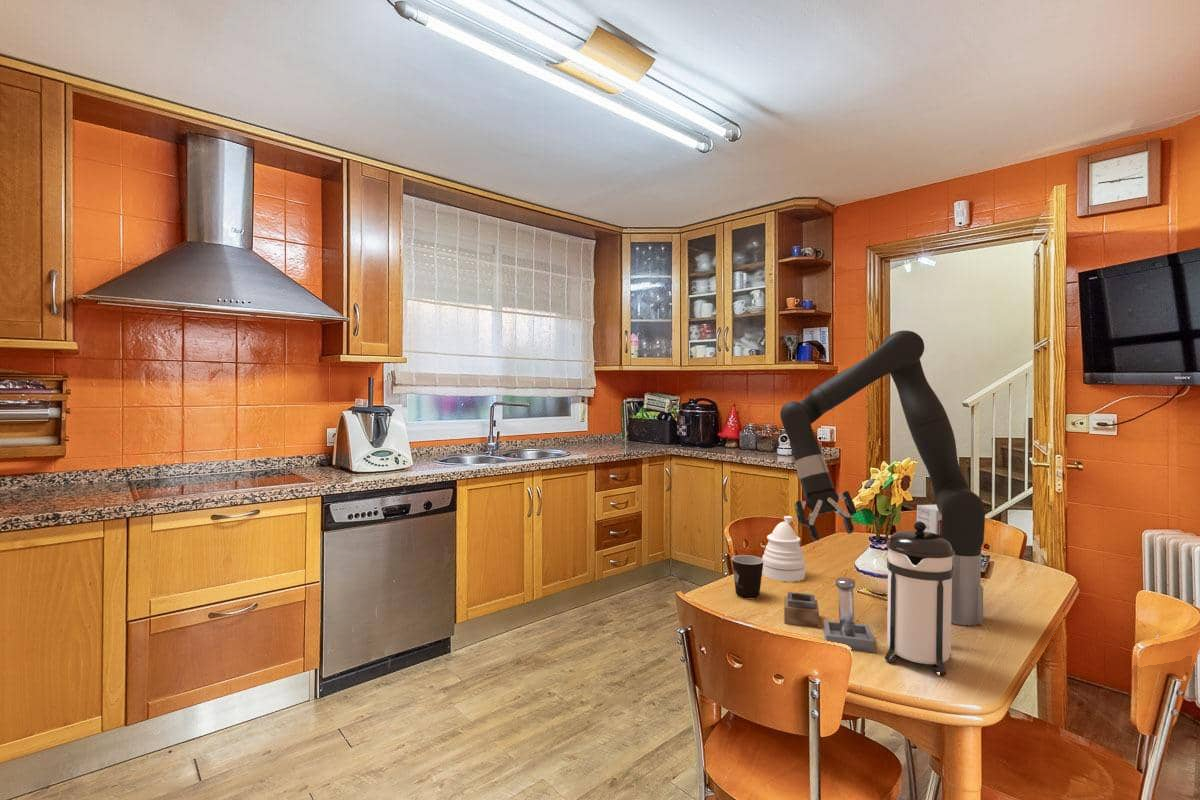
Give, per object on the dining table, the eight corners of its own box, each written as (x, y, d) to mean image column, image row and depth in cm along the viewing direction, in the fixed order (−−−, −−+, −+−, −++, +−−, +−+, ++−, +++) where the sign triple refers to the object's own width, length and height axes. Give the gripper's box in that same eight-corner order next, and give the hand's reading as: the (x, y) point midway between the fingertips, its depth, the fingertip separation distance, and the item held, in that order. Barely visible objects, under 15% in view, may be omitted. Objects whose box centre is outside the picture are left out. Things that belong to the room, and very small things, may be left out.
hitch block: (816, 614, 149) (817, 593, 149) (818, 627, 142) (819, 605, 142) (784, 611, 152) (784, 590, 152) (784, 623, 144) (784, 601, 144)
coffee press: (980, 675, 118) (983, 529, 117) (905, 678, 117) (908, 531, 116) (926, 638, 136) (928, 510, 135) (860, 640, 134) (862, 512, 133)
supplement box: (934, 559, 197) (935, 510, 196) (914, 551, 206) (915, 504, 205) (959, 557, 199) (959, 508, 198) (938, 550, 208) (938, 503, 207)
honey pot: (781, 566, 189) (781, 511, 189) (814, 577, 178) (814, 519, 178) (753, 572, 183) (753, 516, 182) (785, 585, 172) (785, 524, 171)
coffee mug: (764, 601, 159) (764, 565, 158) (732, 599, 160) (732, 563, 160) (761, 586, 170) (761, 553, 170) (731, 584, 172) (731, 551, 171)
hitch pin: (856, 633, 136) (853, 577, 135) (858, 641, 132) (856, 583, 131) (837, 632, 137) (834, 577, 137) (838, 640, 133) (836, 582, 133)
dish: (868, 635, 137) (868, 625, 137) (874, 652, 128) (874, 641, 128) (823, 630, 140) (823, 620, 140) (826, 646, 131) (826, 635, 131)
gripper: (790, 477, 149) (810, 541, 143) (845, 466, 148) (866, 529, 143) (784, 483, 156) (802, 543, 151) (836, 472, 155) (856, 532, 150)
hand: (833, 536), depth 147 cm, fingers open, 8 cm apart
